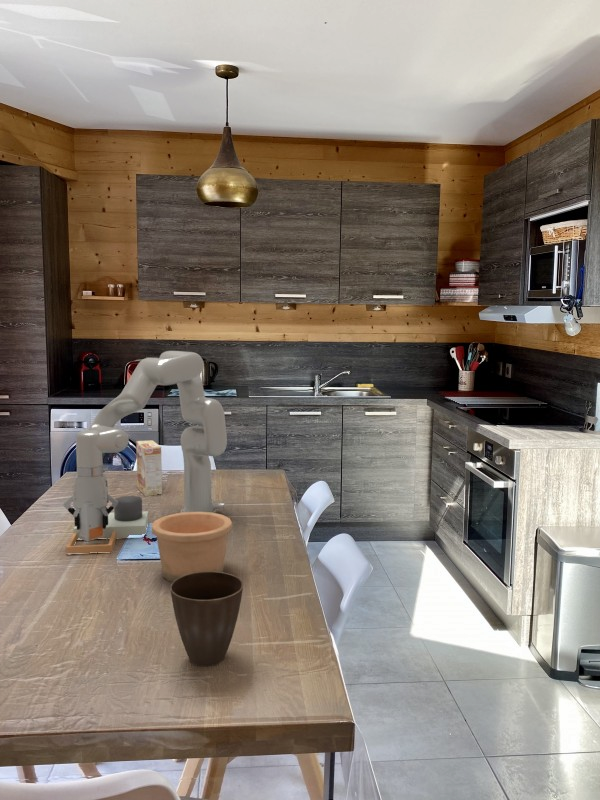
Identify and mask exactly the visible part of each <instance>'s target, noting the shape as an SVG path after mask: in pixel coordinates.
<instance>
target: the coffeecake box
mask: <svg viewBox="0 0 600 800" xmlns="http://www.w3.org/2000/svg"><path fill="white" fill-rule="evenodd" d="M135 444H136V477H137V478H136V479H137V487H138V488H137V489H138V490H139V491H140V492H141V494H143V495H144V496H145V497H147V496H146V495H154V496H158V495H157V494H162V495H163V472H162V470H163V469H162V468H163V467H162V466H163V465H162V446H161V445H159V444H158V443H157V442H155V441H154V440H153V439H152V440H136V442H135Z"/></svg>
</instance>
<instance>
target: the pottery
mask: <svg viewBox="0 0 600 800" xmlns="http://www.w3.org/2000/svg"><path fill="white" fill-rule="evenodd" d="M232 529H233V522H232V520H231V518H230V517H228V516H226V515H224V514H220V513H217V512H216V513H211V512H183V513H180V512H178V513H177V512H176V513H172V514H169V515H165V516H162V517H160V518H157V519H156V520H154V522H153V523H152V524H151V532H152V535H154V536H155V537H156V541H157V548H158V552H159V553H158V555H159V560H160V566H161V571H162V572H161V573H162V577H163V578H164V579H166V580H167V582H171V583H173V582H174V581H175V580H176V579H178V578H180V577H182V576H184V575H188V574H191V573H197V572H223V573H224V564H225V558H226V553H227V551H226V550H227V544H228V536H229V535H228V534H229V533H230V532H231V530H232Z"/></svg>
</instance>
